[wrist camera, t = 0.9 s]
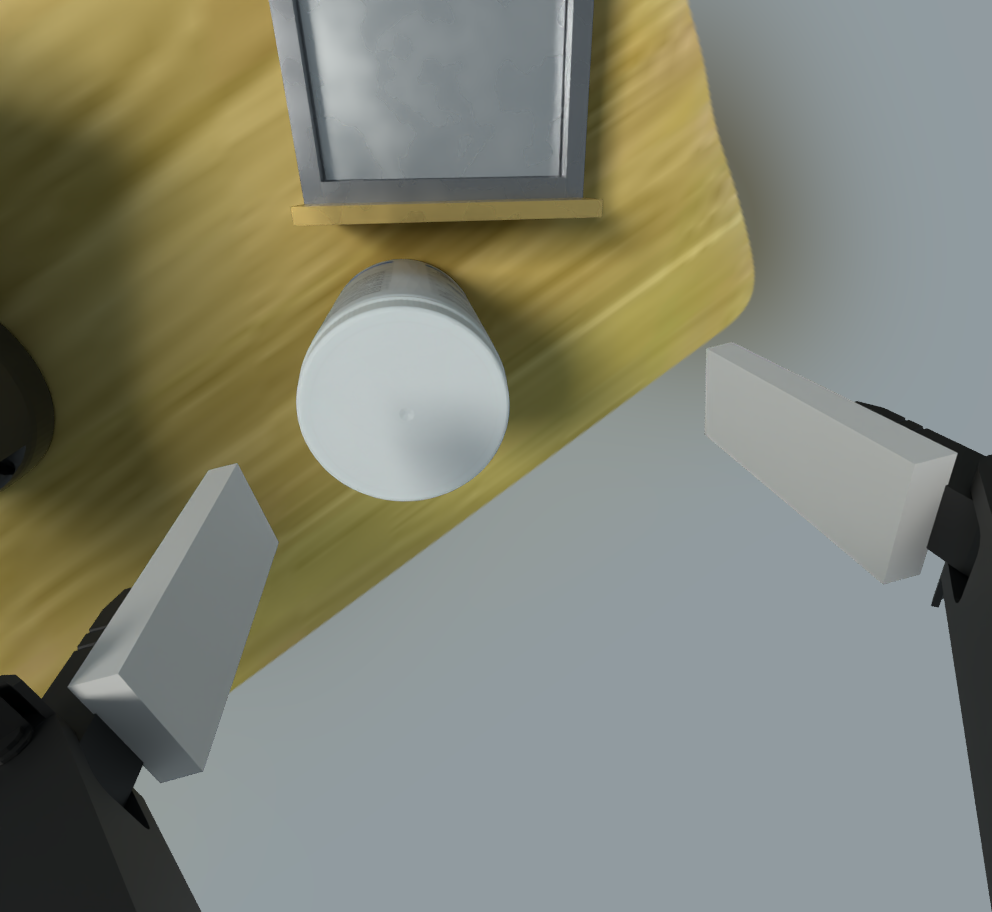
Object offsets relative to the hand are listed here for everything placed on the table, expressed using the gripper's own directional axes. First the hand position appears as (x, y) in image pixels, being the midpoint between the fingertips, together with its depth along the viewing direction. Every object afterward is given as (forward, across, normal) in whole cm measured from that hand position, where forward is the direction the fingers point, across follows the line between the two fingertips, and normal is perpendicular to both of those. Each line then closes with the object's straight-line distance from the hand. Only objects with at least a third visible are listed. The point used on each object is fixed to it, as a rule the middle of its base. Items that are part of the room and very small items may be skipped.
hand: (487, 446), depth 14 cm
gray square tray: (+23, +3, +13) cm, 26 cm away
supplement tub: (+23, -2, -2) cm, 23 cm away
